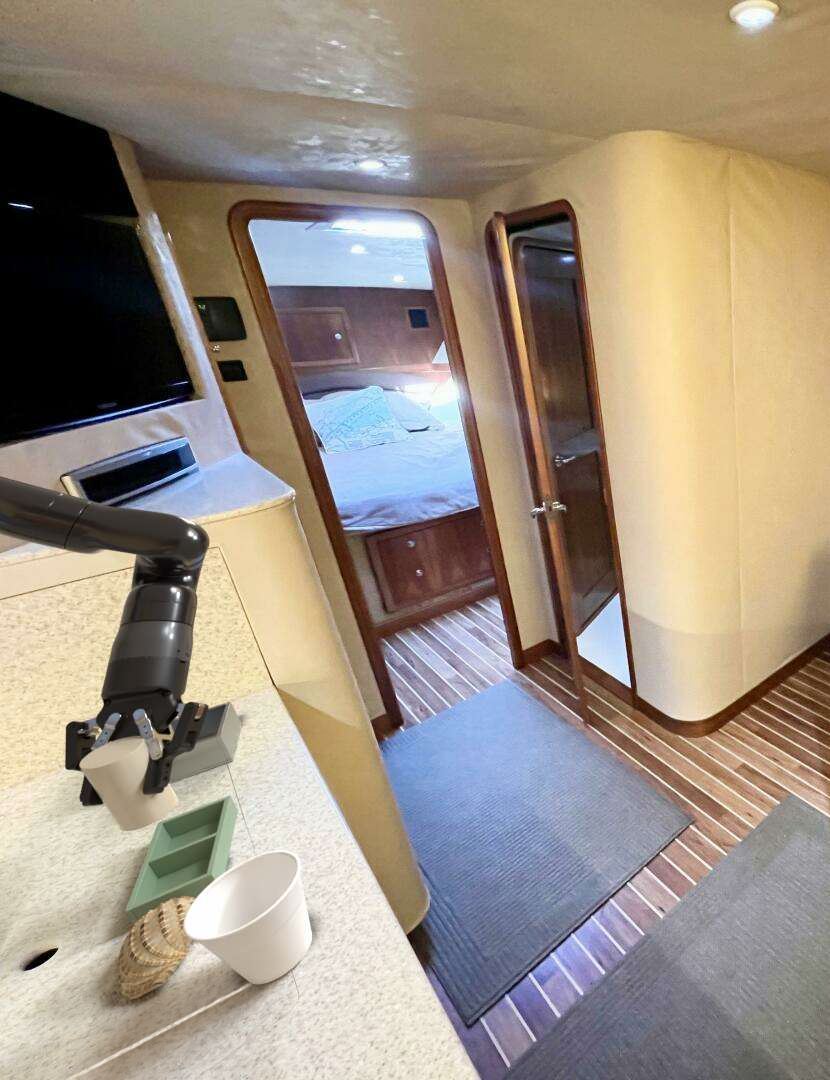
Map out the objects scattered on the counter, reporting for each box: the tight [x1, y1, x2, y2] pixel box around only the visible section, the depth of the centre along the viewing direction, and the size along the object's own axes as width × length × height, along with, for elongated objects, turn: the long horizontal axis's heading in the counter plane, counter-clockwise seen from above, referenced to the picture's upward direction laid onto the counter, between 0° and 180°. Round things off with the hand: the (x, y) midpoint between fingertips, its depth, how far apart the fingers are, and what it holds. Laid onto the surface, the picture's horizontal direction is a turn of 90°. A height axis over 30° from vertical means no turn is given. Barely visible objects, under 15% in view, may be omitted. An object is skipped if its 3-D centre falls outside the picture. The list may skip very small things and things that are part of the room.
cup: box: [183, 849, 313, 985], centre depth 59 cm, size 10×10×11 cm
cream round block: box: [79, 736, 179, 832], centre depth 66 cm, size 5×5×10 cm
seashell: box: [116, 896, 196, 1002], centre depth 61 cm, size 8×6×10 cm
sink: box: [169, 701, 243, 784], centre depth 92 cm, size 11×11×6 cm
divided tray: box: [124, 795, 239, 926], centre depth 72 cm, size 8×15×4 cm, turn 34°
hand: (123, 798), depth 64 cm, fingers closed on cream round block, 5 cm apart
